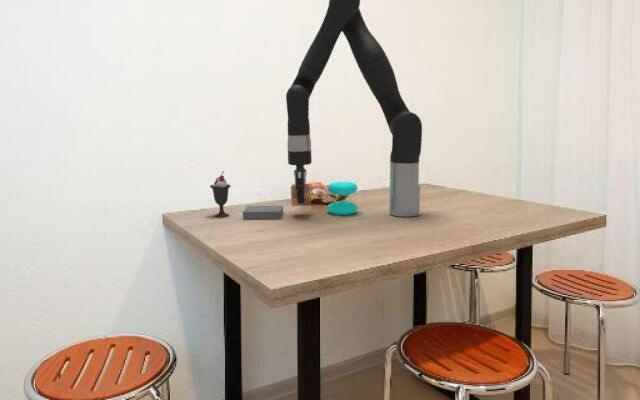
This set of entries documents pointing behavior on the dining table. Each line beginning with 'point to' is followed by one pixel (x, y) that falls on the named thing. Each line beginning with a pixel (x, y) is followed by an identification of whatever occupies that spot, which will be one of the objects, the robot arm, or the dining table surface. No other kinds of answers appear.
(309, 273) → the dining table surface
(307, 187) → the cube
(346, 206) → the donuts
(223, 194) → the sundae
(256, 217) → the base
